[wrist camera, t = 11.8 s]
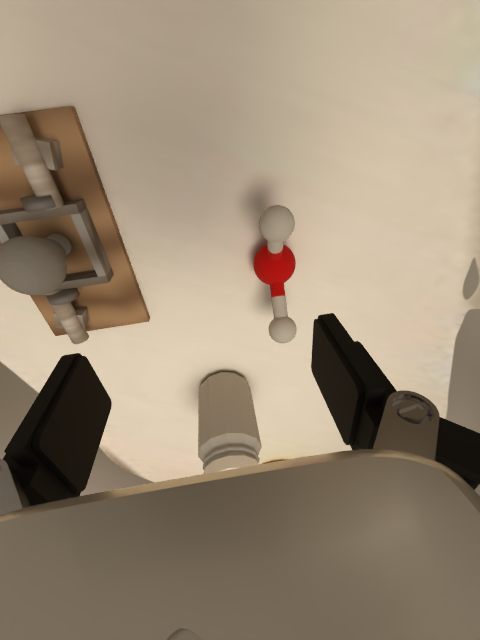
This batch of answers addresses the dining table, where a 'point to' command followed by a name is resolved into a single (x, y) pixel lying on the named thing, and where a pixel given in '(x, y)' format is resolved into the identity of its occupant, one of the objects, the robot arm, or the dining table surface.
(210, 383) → the jar
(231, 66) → the dining table surface
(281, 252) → the molecular model
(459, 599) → the robot arm
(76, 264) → the shaft bench
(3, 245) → the light bulb
